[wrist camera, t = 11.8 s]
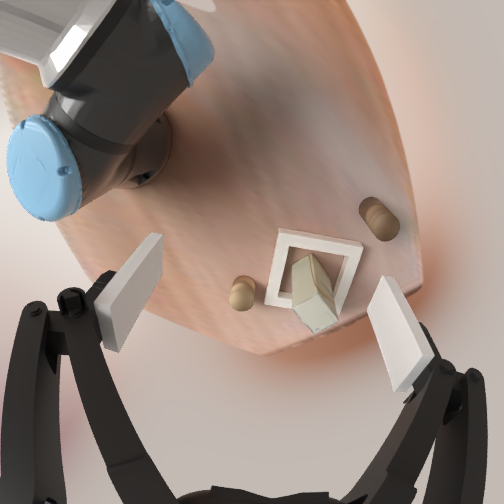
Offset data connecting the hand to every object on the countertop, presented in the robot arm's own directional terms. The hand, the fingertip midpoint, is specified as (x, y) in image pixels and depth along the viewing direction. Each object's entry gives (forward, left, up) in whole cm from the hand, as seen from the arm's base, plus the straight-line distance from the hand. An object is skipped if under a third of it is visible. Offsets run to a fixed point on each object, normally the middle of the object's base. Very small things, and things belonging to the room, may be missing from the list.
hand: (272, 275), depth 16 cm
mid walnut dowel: (+16, -3, -29) cm, 33 cm away
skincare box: (+9, -16, -29) cm, 34 cm away
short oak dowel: (-2, -21, -29) cm, 36 cm away
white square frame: (+9, -16, -29) cm, 34 cm away
